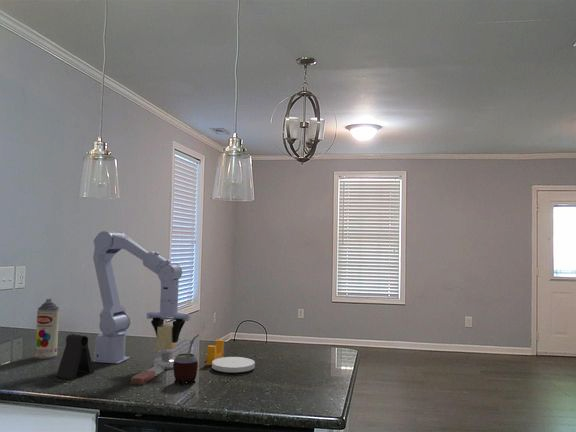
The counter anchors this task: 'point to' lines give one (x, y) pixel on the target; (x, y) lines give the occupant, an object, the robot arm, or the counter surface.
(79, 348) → the phone stand
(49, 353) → the aerosol can
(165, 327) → the tan rectangular block
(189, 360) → the mate gourd
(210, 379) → the counter surface
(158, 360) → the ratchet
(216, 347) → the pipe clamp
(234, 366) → the plastic lid
